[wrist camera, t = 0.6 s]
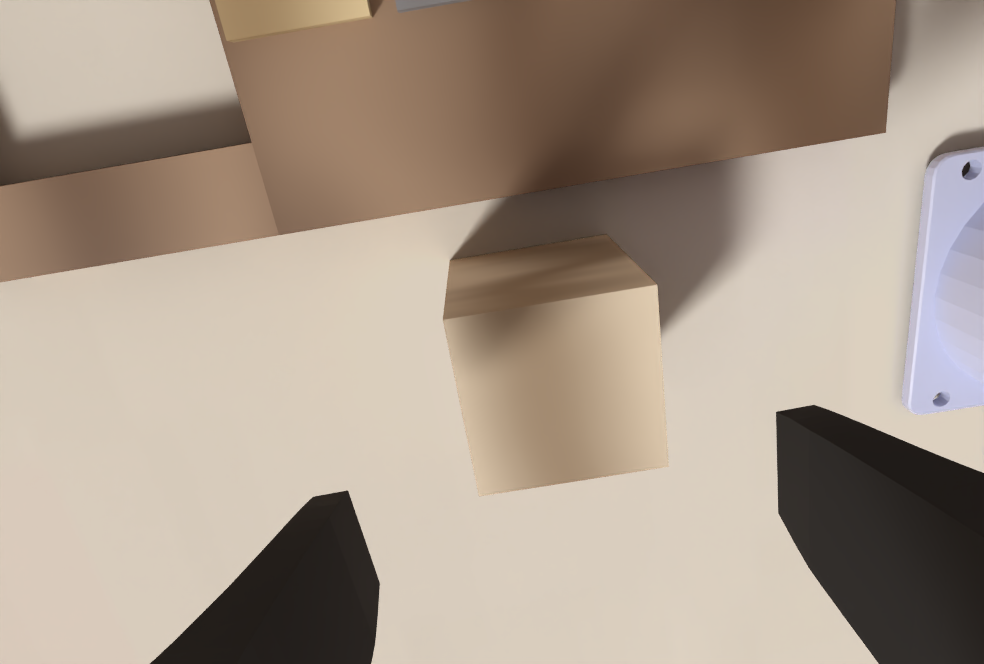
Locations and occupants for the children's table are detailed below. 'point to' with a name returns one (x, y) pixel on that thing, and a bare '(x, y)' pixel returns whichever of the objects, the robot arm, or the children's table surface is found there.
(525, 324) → the maple block
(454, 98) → the puzzle board
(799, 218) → the children's table surface
